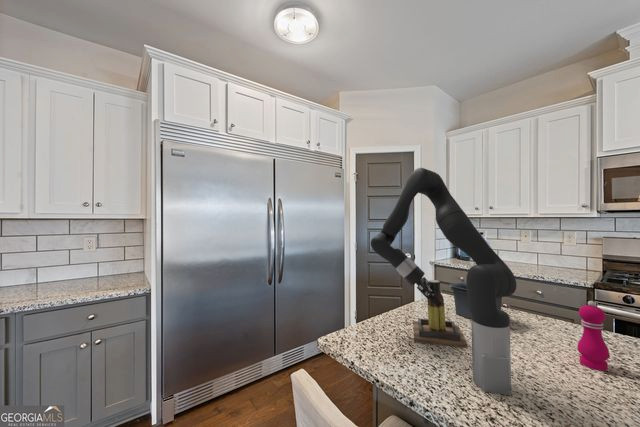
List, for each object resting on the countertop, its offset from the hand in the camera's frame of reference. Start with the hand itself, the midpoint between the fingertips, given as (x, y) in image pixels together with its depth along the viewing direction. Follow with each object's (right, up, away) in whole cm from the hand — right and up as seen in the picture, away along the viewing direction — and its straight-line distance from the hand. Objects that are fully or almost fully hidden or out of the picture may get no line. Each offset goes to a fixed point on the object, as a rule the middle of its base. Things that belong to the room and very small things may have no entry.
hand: (440, 302), depth 110 cm
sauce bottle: (-1, -12, 0) cm, 12 cm away
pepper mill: (+38, -12, -23) cm, 46 cm away
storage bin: (+26, -14, +19) cm, 35 cm away
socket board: (-1, -13, 0) cm, 13 cm away
